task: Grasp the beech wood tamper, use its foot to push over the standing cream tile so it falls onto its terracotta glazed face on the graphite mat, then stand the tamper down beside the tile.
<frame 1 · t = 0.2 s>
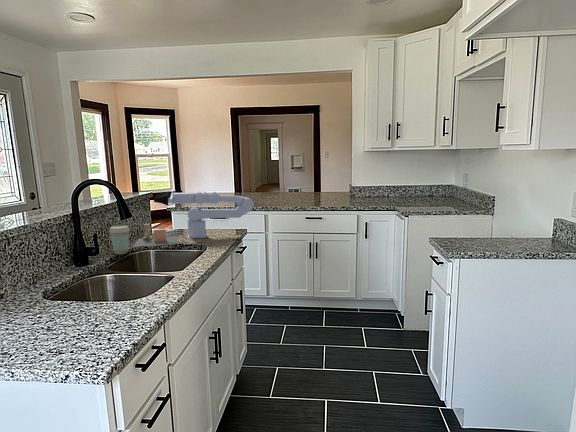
hand: (154, 198, 199), 21 cm above the worktop, tool horizontal, fingers open, 7 cm apart
coffee cup: (121, 253, 174), on the worktop
tamper: (147, 239, 199), resting on mat
tile: (160, 241, 195), resting on mat
mat: (156, 242, 194), on the worktop
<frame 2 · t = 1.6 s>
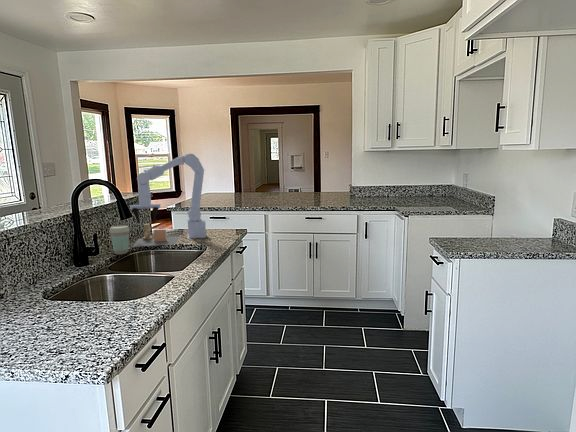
hand: (146, 222, 198), 9 cm above the worktop, tool pointing down, fingers open, 7 cm apart
nothing on the worktop moved.
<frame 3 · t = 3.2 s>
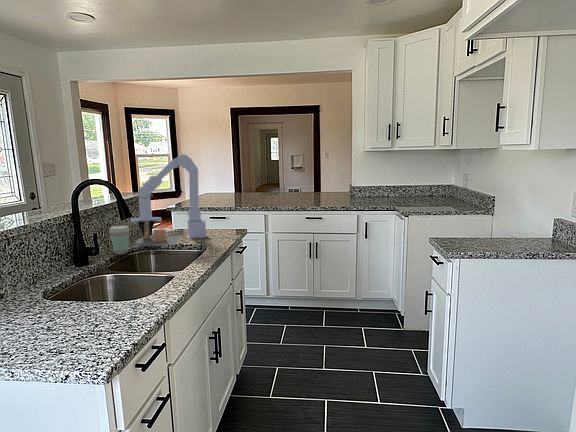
hand: (147, 235, 199), 2 cm above the worktop, tool pointing down, fingers closed on tamper, 2 cm apart
tamper: (147, 239, 199), resting on mat, touching gripper
everything else where it was.
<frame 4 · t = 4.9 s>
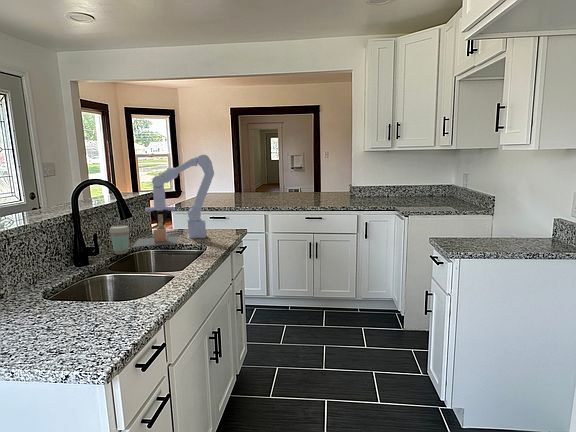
hand: (161, 224, 200), 8 cm above the worktop, tool pointing down, fingers closed on tamper, 2 cm apart
tamper: (161, 230, 200), point 5 cm above the worktop, touching gripper
everything else where it was.
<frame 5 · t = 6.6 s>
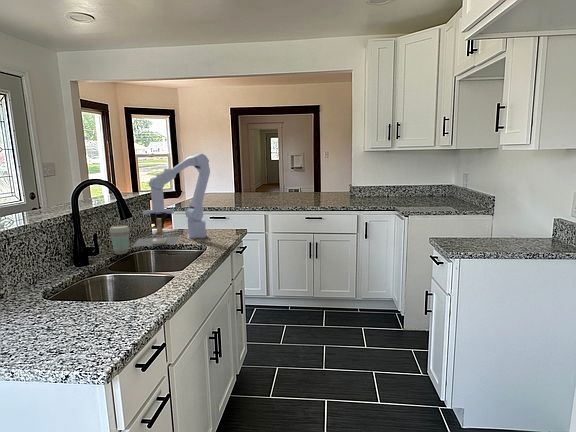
hand: (159, 228, 194), 7 cm above the worktop, tool pointing down, fingers closed on tamper, 2 cm apart
tamper: (160, 234, 194), point 4 cm above the worktop, touching gripper
tile: (160, 239, 194), point 1 cm above the worktop, tilted 90°, touching mat
everything else where it was.
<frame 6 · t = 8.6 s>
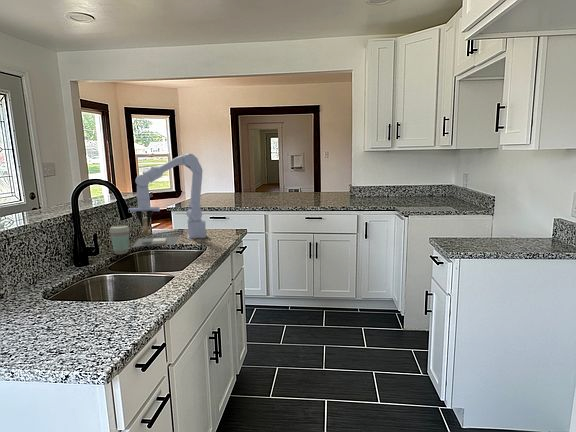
hand: (145, 225, 194), 8 cm above the worktop, tool pointing down, fingers closed on tamper, 2 cm apart
tamper: (146, 233, 195), point 5 cm above the worktop, touching gripper
everything else where it was.
when the fingers open (4 cm above the worktop, at t = 9.8 s): tamper stays where it is, resting on mat.
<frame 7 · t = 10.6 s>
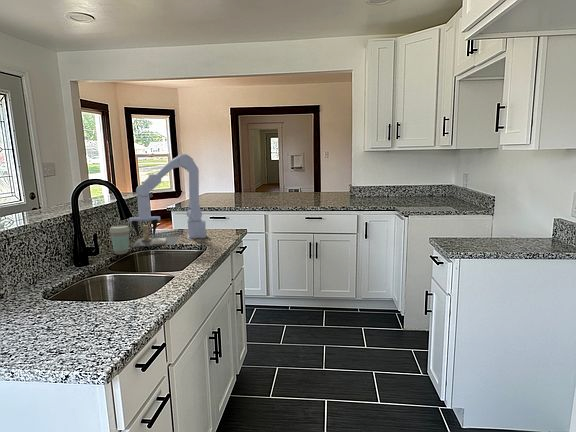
hand: (146, 235, 195), 4 cm above the worktop, tool pointing down, fingers open, 7 cm apart
tamper: (146, 241, 195), resting on mat
everything else where it was.
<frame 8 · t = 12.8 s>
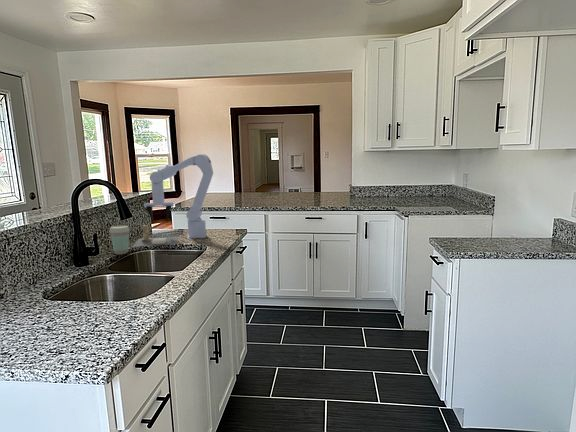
hand: (159, 220, 204), 9 cm above the worktop, tool pointing down, fingers open, 7 cm apart
nothing on the worktop moved.
at the end: tile tilted 90°; tile 1.8 cm from the target spot, point 1.3 cm above the worktop; tamper 0.1 cm from the target spot, point 0.5 cm above the worktop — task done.
